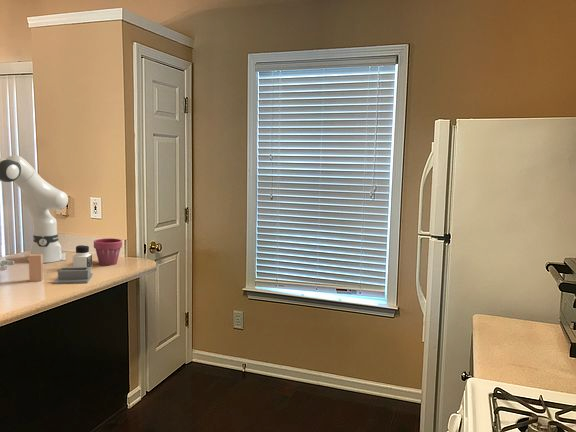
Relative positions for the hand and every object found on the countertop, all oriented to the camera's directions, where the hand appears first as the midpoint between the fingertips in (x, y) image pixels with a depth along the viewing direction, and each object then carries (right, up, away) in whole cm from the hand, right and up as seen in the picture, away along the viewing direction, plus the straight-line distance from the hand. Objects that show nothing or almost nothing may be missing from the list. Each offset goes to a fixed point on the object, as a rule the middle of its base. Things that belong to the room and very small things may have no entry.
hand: (10, 265), depth 208 cm
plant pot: (+29, -3, +40) cm, 49 cm away
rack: (+26, -7, +7) cm, 28 cm away
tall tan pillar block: (+10, -7, +3) cm, 13 cm away
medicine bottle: (+21, -5, +27) cm, 35 cm away
